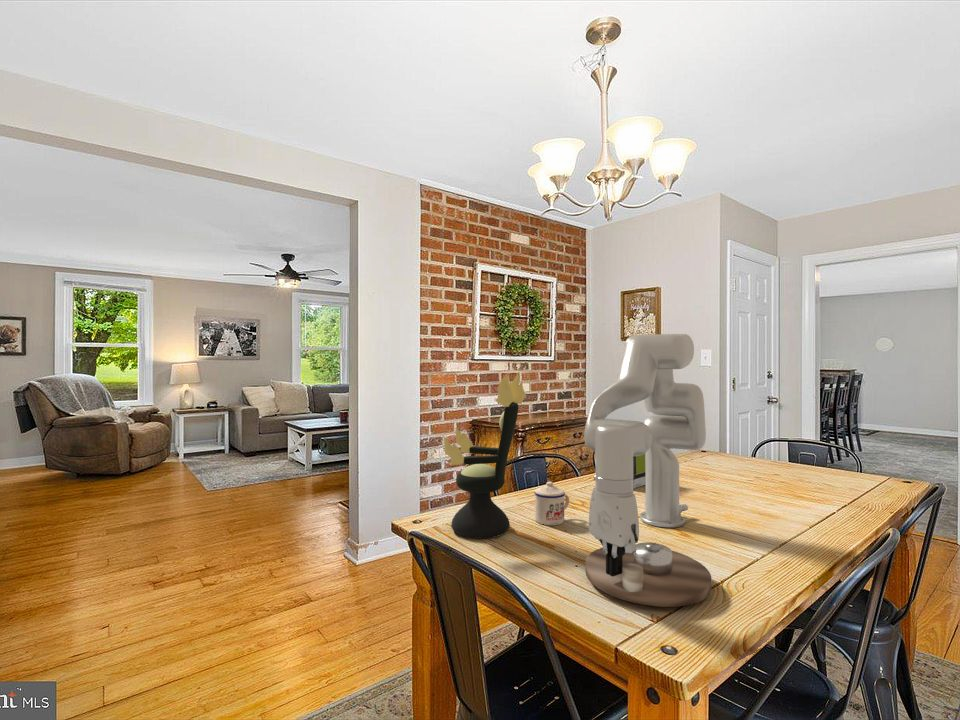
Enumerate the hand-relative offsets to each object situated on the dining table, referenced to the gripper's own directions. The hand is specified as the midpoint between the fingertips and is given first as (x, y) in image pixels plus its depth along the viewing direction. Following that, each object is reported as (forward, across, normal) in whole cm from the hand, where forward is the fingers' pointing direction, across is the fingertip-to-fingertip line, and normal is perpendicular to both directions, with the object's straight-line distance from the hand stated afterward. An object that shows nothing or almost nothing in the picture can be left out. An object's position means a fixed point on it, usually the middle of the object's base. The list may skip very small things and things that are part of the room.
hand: (614, 573), depth 101 cm
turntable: (+4, -1, +11) cm, 11 cm away
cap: (+2, 0, +12) cm, 12 cm away
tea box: (+4, -59, +71) cm, 92 cm away
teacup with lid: (+5, -43, +20) cm, 48 cm away
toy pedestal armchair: (+5, -47, -1) cm, 47 cm away
